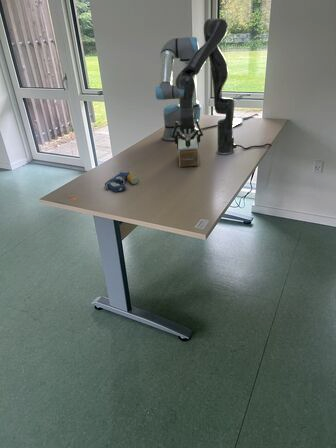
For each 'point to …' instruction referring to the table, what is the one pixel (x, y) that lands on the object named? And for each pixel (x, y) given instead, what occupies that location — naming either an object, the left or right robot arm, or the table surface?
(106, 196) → the table surface
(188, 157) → the drawer
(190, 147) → the cabinet
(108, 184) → the spray gun
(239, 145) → the right robot arm
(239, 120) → the spoon
